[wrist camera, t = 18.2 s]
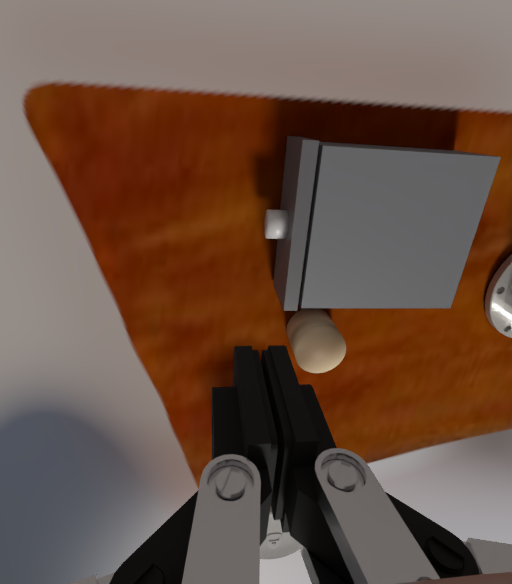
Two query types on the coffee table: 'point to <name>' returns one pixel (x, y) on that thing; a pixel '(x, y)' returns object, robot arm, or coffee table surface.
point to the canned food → (277, 541)
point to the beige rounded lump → (315, 340)
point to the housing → (392, 225)
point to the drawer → (293, 218)
